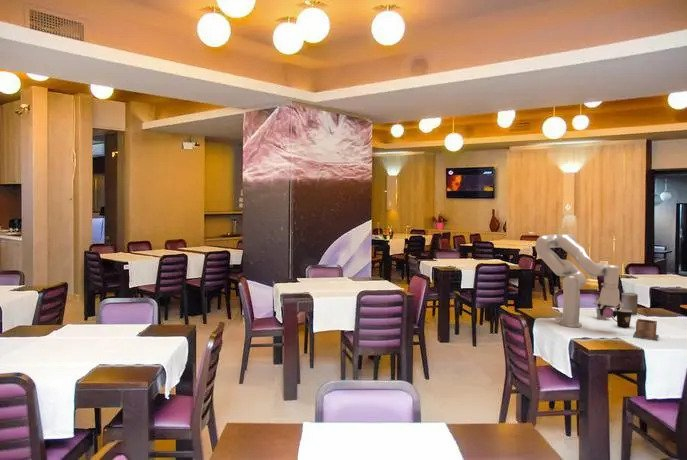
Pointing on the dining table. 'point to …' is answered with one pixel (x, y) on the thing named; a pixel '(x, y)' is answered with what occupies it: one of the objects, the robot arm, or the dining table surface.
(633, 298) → the pillar candle
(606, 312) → the plum ball
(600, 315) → the house plant
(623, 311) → the coffee mug
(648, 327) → the wooden cube shelf
